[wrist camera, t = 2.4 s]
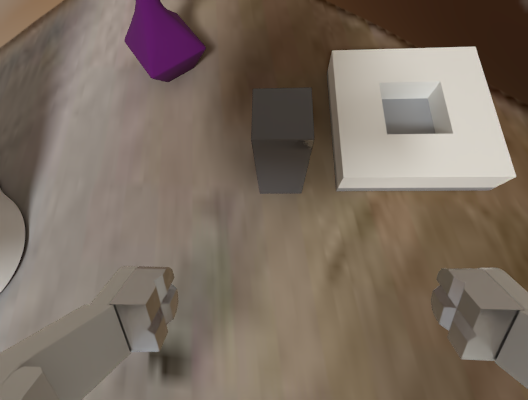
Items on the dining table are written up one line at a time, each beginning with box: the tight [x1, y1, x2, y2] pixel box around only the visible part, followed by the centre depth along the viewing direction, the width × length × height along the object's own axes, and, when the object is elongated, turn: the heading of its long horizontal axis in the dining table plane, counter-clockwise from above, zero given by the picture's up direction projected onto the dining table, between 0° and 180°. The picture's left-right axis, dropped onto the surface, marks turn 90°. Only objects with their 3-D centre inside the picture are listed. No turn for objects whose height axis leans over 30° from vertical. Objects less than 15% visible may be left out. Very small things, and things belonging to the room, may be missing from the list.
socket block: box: [327, 47, 516, 191], centre depth 31 cm, size 16×16×4 cm
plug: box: [251, 88, 314, 194], centre depth 26 cm, size 4×4×11 cm
